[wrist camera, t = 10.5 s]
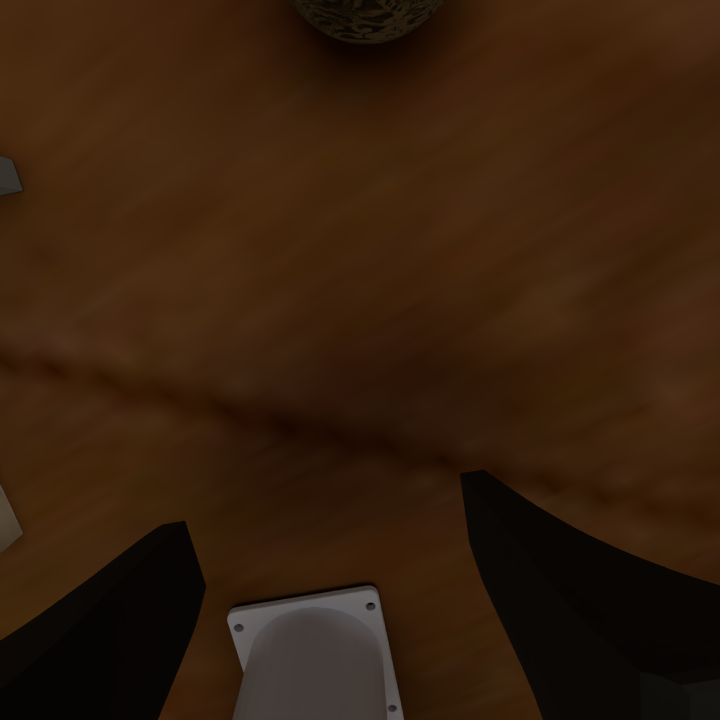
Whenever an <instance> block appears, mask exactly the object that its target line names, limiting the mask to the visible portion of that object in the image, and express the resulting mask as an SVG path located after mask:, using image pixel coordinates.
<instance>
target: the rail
mask: <svg viewBox="0 0 720 720" xmlns="http://www.w3.org/2000/svg"><path fill="white" fill-rule="evenodd" d="M22 534H23V532H22V530H21V528H20V526H19V523H18V521H17V519H16V517H15V515H14V513H13V510H12V508H11V506H10V504H9V502H8V500H7V497H6V495H5V493H4V491H3V489H2V487H1V484H0V553H1V552H3V551H4V550H5V549H6V548H7V547H8V546H10V545H11V544H12V543H13V542H14V541H15V540H16V539H18V538H19V537H20V536H21V535H22Z"/></svg>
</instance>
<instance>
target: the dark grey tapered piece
mask: <svg viewBox="0 0 720 720" xmlns="http://www.w3.org/2000/svg"><path fill="white" fill-rule="evenodd" d="M288 1H289V3H290V4H291V5H292V6H293V8H294V9H295V10H296V11H297V12H298V13H299V14H300V15H301V16H302V17H303V18H304V19H305V20H306V21H307V22H309V23H310V24H311V25H313V26H314V27H315V28H316V29H318V30H320V31H321V32H323V33H325V34H326V35H329V36H331V37H333V38H335V39H338V40H341V41H344V42H349V43H354V44H378V43H383V42H388V41H391V40H394V39H397V38H399V37H401V36H403V35H405V34H407V33H409V32H411V31H412V30H414V29H415V28H417V27H418V26H419V25H421V24H422V23H423V22H424V21H425V20H427V19H428V18H429V17H430V16H431V15H432V14H433V13H434V12H435V11H436V10H437V9H438V8H439V7H440V6H441V5H442V4H443V3H444V1H445V0H288Z"/></svg>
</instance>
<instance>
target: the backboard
mask: <svg viewBox="0 0 720 720" xmlns="http://www.w3.org/2000/svg"><path fill="white" fill-rule="evenodd" d="M20 191H23V189H22V186H21V183H20V180H19V178H18V175H17V172H16V169H15V166H14V163H13V161H12V159H8V158H4V157H1V156H0V195H4V194H9V193H15V192H20Z"/></svg>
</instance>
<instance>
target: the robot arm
mask: <svg viewBox="0 0 720 720" xmlns="http://www.w3.org/2000/svg"><path fill="white" fill-rule="evenodd" d="M460 477H461V484H462V492H463V499H464V506H465V514H466V521H467V528H468V536H469V542H470V546H471V549H472V552H473V555H474V558H475V561H476V564H477V567H478V570H479V573H480V576H481V579H482V581H483V583H484V586H485V588H486V590H487V592H488V594H489V596H490V599H491V601H492V603H493V605H494V607H495V609H496V612H497V614H498V616H499V618H500V620H501V622H502V624H503V627H504V629H505V631H506V633H507V635H508V637H509V639H510V642H511V644H512V646H513V648H514V650H515V652H516V654H517V657H518V659H519V661H520V663H521V665H522V667H523V670H524V672H525V674H526V677H527V679H528V681H529V684H530V686H531V688H532V691H533V693H534V696H535V699H536V702H537V704H538V707H539V710H540V712H541V715H542V718H543V720H720V585H717V584H713V583H710V582H707V581H703V580H700V579H697V578H694V577H691V576H688V575H685V574H682V573H679V572H676V571H673V570H671V569H668V568H665V567H663V566H660V565H657V564H655V563H652V562H650V561H647V560H644V559H642V558H639V557H636V556H634V555H632V554H629V553H627V552H625V551H622V550H620V549H618V548H615V547H613V546H611V545H609V544H607V543H605V542H603V541H600V540H598V539H596V538H594V537H592V536H590V535H588V534H586V533H584V532H582V531H580V530H578V529H576V528H574V527H572V526H571V525H569V524H567V523H565V522H563V521H562V520H560V519H558V518H556V517H555V516H553V515H551V514H549V513H548V512H546V511H545V510H543V509H541V508H540V507H538V506H536V505H535V504H533V503H532V502H530V501H529V500H527V499H526V498H524V497H523V496H521V495H520V494H518V493H517V492H515V491H514V490H512V489H511V488H509V487H508V486H507V485H505V484H504V483H502V482H501V481H499V480H498V479H497V478H495V477H494V476H492V475H491V474H490V473H488V472H487V471H485V470H478V471H473V472H467V473H461V474H460ZM205 589H206V584H205V581H204V578H203V575H202V572H201V569H200V565H199V562H198V559H197V556H196V553H195V550H194V547H193V544H192V541H191V538H190V535H189V531H188V528H187V525H186V522H185V521H181V522H175V523H169V524H163V525H161V526H159V527H158V528H156V529H155V530H153V531H152V532H150V533H149V534H147V535H146V536H144V537H143V538H142V539H140V540H139V541H138V542H136V543H135V544H134V545H132V546H131V547H130V548H128V549H127V550H126V551H124V552H123V553H122V554H121V555H119V556H118V557H117V558H115V559H114V560H113V561H111V562H110V563H109V564H108V565H106V566H105V567H104V568H102V569H101V570H100V571H98V572H97V573H96V574H95V575H93V576H92V577H91V578H89V579H88V580H87V581H85V582H84V583H83V584H81V585H80V586H78V587H77V588H76V589H74V590H73V591H72V592H70V593H69V594H67V595H66V596H65V597H63V598H62V599H61V600H59V601H58V602H56V603H55V604H54V605H52V606H51V607H50V608H48V609H47V610H45V611H44V612H43V613H41V614H40V615H38V616H37V617H35V618H34V619H33V620H31V621H30V622H28V623H27V624H25V625H24V626H22V627H21V628H19V629H18V630H16V631H15V632H13V633H11V634H10V635H8V636H7V637H5V638H4V639H2V640H0V720H158V718H159V715H160V713H161V710H162V708H163V706H164V703H165V701H166V698H167V696H168V693H169V691H170V689H171V686H172V684H173V681H174V679H175V676H176V674H177V672H178V669H179V667H180V664H181V662H182V659H183V657H184V654H185V652H186V649H187V647H188V644H189V642H190V639H191V637H192V634H193V632H194V629H195V627H196V623H197V620H198V616H199V613H200V609H201V605H202V601H203V597H204V593H205ZM370 602H371V603H374V604H372V605H368V604H367V603H370ZM227 622H228V625H229V628H230V631H231V634H232V637H233V641H234V644H235V647H236V650H237V653H238V656H239V659H240V663H241V666H242V669H243V672H244V676H243V679H242V683H241V687H240V691H239V695H238V699H237V703H236V707H235V711H234V714H233V718H232V720H404V717H403V711H402V706H401V701H400V696H399V691H398V686H397V681H396V676H395V672H394V667H393V662H392V657H391V652H390V647H389V642H388V638H387V633H386V628H385V623H384V618H383V613H382V608H381V604H380V599H379V594H378V591H377V589H376V588H375V587H373V586H362V587H356V588H350V589H344V590H338V591H332V592H326V593H319V594H313V595H307V596H301V597H295V598H289V599H283V600H277V601H271V602H265V603H259V604H253V605H247V606H241V607H235V608H232V609H231V610H230V612H229V614H228V617H227ZM237 624H241V625H243V626H239V625H237Z"/></svg>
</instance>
